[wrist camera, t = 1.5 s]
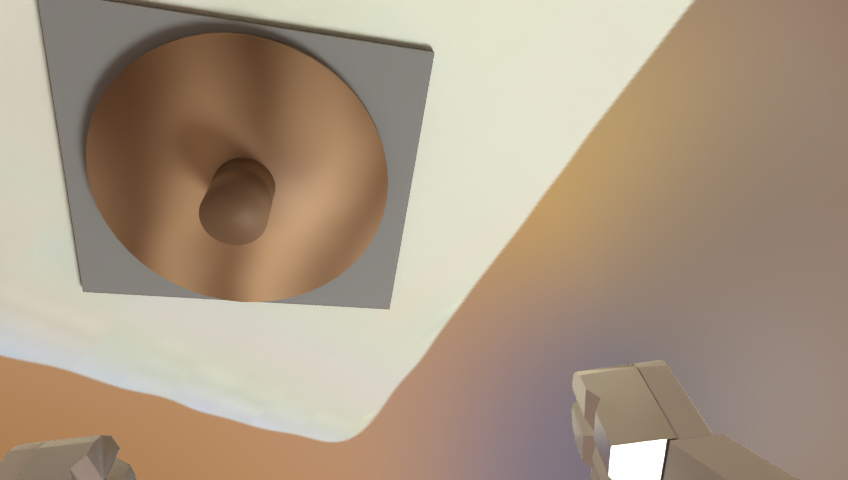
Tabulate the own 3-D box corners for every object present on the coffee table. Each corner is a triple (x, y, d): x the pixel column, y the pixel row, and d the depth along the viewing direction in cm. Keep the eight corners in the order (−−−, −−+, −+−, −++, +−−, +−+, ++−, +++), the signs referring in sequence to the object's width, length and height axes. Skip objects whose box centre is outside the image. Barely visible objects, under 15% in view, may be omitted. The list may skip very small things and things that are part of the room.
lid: (107, 286, 35) (77, 334, 31) (72, 6, 27) (24, 20, 23) (369, 302, 39) (373, 347, 34) (406, 57, 30) (417, 78, 26)
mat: (85, 288, 35) (82, 291, 35) (40, -11, 27) (36, -10, 26) (388, 305, 39) (389, 309, 39) (433, 51, 31) (434, 52, 31)
